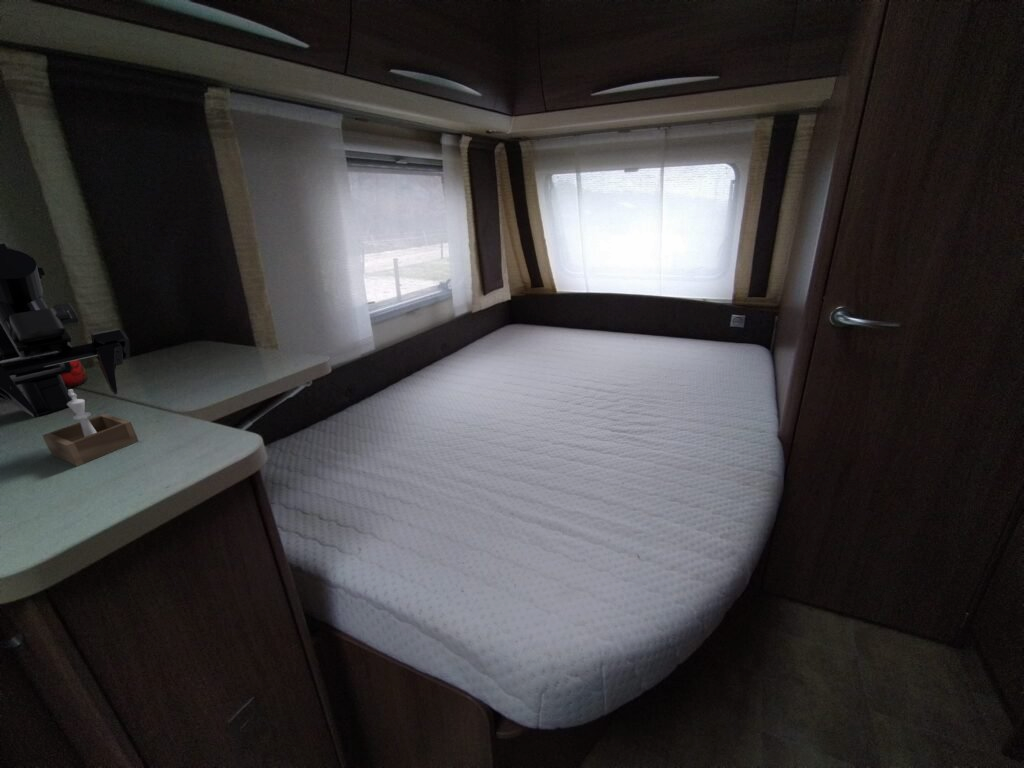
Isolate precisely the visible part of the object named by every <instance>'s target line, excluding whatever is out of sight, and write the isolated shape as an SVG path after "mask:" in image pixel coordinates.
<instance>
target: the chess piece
mask: <svg viewBox="0 0 1024 768" xmlns="http://www.w3.org/2000/svg"><path fill="white" fill-rule="evenodd" d="M67 390H68V392H69V393H68V395H69V396H70V397H71V398H72V400H71V401H69V402H68V403H67V405H68V408H69V409H70V410H72V411H73V412H74V413H75V414H74V415H73V416H72V419H73V420H74V421H76V420H77V421H79V422H80V423H81V426H82V430H83V434H84V437H86V436H89V435H92V434H94V433H97V432H96V430H95V429H94V427H93V426H92V424H91V423H90V421H89V420H88V419H89V417H90V416H92V413H91V412H89V411H85V409H86V408H85V407H86V401H85V399H84V398H77V397H78V395H77V393H75V391H74V389H72V388H69V389H67Z"/></svg>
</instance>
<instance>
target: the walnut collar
mask: <svg viewBox="0 0 1024 768" xmlns="http://www.w3.org/2000/svg"><path fill="white" fill-rule="evenodd" d="M88 420H89V421H90V423H91V424H92V426H93V427H94V429H95V430H96V432H97V433H94V434H92V435H89V436H86V437H84V434H83V430H82V426H81V423H80V421H79V422H76V423H74V424H71V425H68V426H65V427H63V428H60V429H59V428H58V429H56V430H54V431H50V432H48V433H45V434H42V438H43V440H44V441H45V445H46V446H47V448H48V450H49V452H50V453H51V456H53V457H54V458H55V457H56V458H58V459H60V460H62V461H64V462H67V463H69V464H71V465H74V466H76V467H79V466H81V465H84V464H87V463H88V462H91V461H93V460H97V459H98V458H101V457H104V456H106V455H108V454H110V453H112V452H116V451H118V450H121V449H122V448H125V447H127V446H131V445H132V444H134V443H138V442H139V438H138V436H137V433H136V432H135V429H134V427H133V424H132V422H131V421H129V420H126V419H123V418H121V417H117V416H113V415H111V414H107V413H103V414H100V415H97V416H93V417H91V418H88Z"/></svg>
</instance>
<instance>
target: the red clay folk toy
mask: <svg viewBox="0 0 1024 768" xmlns="http://www.w3.org/2000/svg"><path fill="white" fill-rule="evenodd" d="M70 363H71V366H72V368H73V370H72V371H71V373H65V374H61V377H62V379H63V381H64V383H65V386H66V388H67V389H72V388H76V387H79V386H81V385H82V384H84V383H85V382H87V381H88V373H87V370H86V369H85V367H84V366H83V365H82V363H81V362H80V359H79V360H75V361H70ZM83 382H84V383H83ZM78 385H79V386H78Z"/></svg>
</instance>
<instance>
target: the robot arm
mask: <svg viewBox="0 0 1024 768" xmlns="http://www.w3.org/2000/svg"><path fill="white" fill-rule="evenodd" d="M42 276H46V274H45V271H44V269H43V267H40V266H38V265H37V262H36V260H35V258H34V257H33V256H30V255H29V254H28V253H25V252H23V251H20V250H17V249H15V248H12V247H9V246H7V245H6V243H0V399H1V400H4V401H5V402H8V403H10V404H12V405H14V406H16V407H17V408H19V409H20V410H21V411H23V412H25V413H27V414H28V415H30V416H32V417H33V418H37V417H39V416H43V415H46V414H49V413H52V412H55V411H59V410H62V409H65V408H67V407H68V408H69V406H68V405H67V403H68V402H69V401H71V400H72V398H71V396H69V395H68V393H69V392H68V390H69V389H68V388H66V386H65V383H64V381H63V379H62V377H61V374H65V373H71V371H72V370H73V368H72V366H71V363H70V361H75V360H79V361H80V360H82V359H88V358H93V357H96V359H97V360H98V362H99V367H100V368H99V369H100V370H101V372H102V374H103V376H104V379H105V381H106V383H107V385H108V388H109V389H110V392H112V393H113V395H117V394H118V387H117V381H116V380H117V378H116V372H117V371H116V370H117V367H118V366H120V365H122V364H124V361H126V360H128V359H129V358H131V352H130V351H131V350H130V349H131V347H130V339H129V337H128V335H127V334H126V332H125V331H122V330H121V329H118V328H114V329H109V330H105V331H104V330H103V331H99V332H94V333H93V332H92V333H91V334H90V337H91V338H90V339H91V343H86V344H85V343H84V344H81V345H76V346H72V344H70V342H71V343H72V338H71V336H70V334H69V332H68V330H67V328H70V327H75V326H76V327H77V326H79V325H80V324H79V323H80V317H78V314H77V313H76V311H75V309H74V308H73V306H72V304H71V303H70V302H65V303H64V302H63V303H58V304H53V308H51V307H48V306H47V304H46V302H45V300H44V299H43V294H44V290H43V286H42V282H41V281H42V280H43V277H42ZM18 385H19V387H20V388H19V387H18Z"/></svg>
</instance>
